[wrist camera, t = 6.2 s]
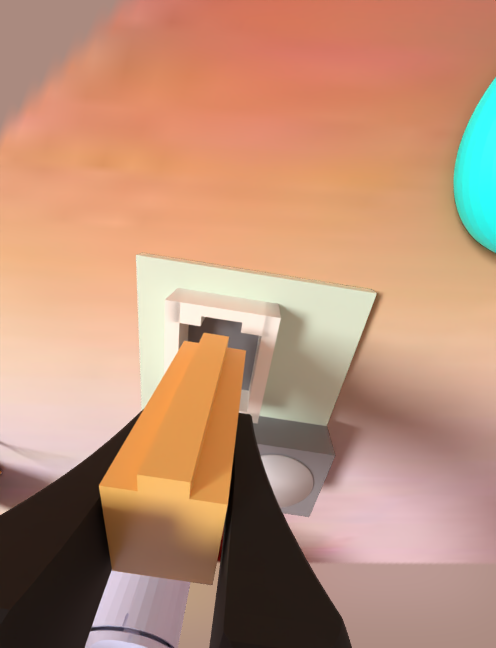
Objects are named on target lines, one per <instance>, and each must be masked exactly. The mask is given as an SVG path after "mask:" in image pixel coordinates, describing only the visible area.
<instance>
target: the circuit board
mask: <svg viewBox="0 0 496 648" xmlns="http://www.w3.org/2000/svg"><path fill="white" fill-rule="evenodd" d="M136 268H137V296H138V324H139V351H140V379H141V406H142V410H143V409H144V408H145V406H146V405H147V403H148V401H149V400H150V398H151V396H152V395H153V393H154V391H155V389H156V388H157V386H158V384H159V383H160V381H161V379H162V378H163V376H164V332H165V299H166V298H167V297H168V296H169V295H170V294H172V293H173V292H174V291H175V290H176V289H177V288H183V289H189V290H196V291H202V292H208V293H215V294H221V295H227V296H233V297H240V298H246V299H252V300H259V301H265V302H271V303H278V304H279V310H280V316H281V320H280V324H279V329H278V333H277V338H276V342H275V347H274V351H273V356H272V360H271V365H270V369H269V374H268V378H267V383H266V388H265V392H264V397H263V401H262V406H261V410H260V415H259V416H264V417H270V418H277V419H283V420H290V421H297V422H303V423H310V424H316V425H323V426H327V424H328V422H329V419H330V416H331V414H332V411H333V408H334V406H335V403H336V400H337V398H338V395H339V392H340V390H341V387H342V385H343V382H344V379H345V377H346V374H347V371H348V369H349V366H350V363H351V361H352V358H353V355H354V353H355V350H356V347H357V345H358V342H359V340H360V337H361V334H362V332H363V329H364V326H365V324H366V321H367V318H368V316H369V313H370V310H371V308H372V305H373V303H374V300H375V297H376V295H377V293H376V292H374V291H373V290H372V289H366V288H359V287H353V286H347V285H341V284H334V283H328V282H322V281H316V280H310V279H303V278H297V277H291V276H285V275H278V274H272V273H266V272H260V271H253V270H247V269H241V268H235V267H229V266H222V265H216V264H210V263H204V262H197V261H191V260H185V259H179V258H172V257H166V256H160V255H154V254H147V253H140V254H137V255H136Z"/></svg>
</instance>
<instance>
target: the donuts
mask: <svg viewBox="0 0 496 648" xmlns="http://www.w3.org/2000/svg"><path fill="white" fill-rule="evenodd" d="M454 198H455V203H456V207H457V210H458V213H459V216H460V218H461V220H462V223H463V224H464V226H465V228H466V229H467V231H468V232H469V233H470V235H471V236H472V237H473V238H474V239H475V240H476V241H477V242H479V243H480V244H481V245H483V246H484V247H486V248H487V249H489V250H491V251H492V252H494V253H496V77H495V79H494V80H493V81H492V83H491V84H490V86H489V87H488V89H487V90H486V92H485V93H484V95H483V97H482V98H481V100H480V101H479V103H478V105H477V107H476V108H475V110H474V112H473V114H472V116H471V118H470V120H469V122H468V125H467V127H466V129H465V132H464V134H463V137H462V140H461V143H460V146H459V149H458V153H457V158H456V162H455V169H454Z"/></svg>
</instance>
